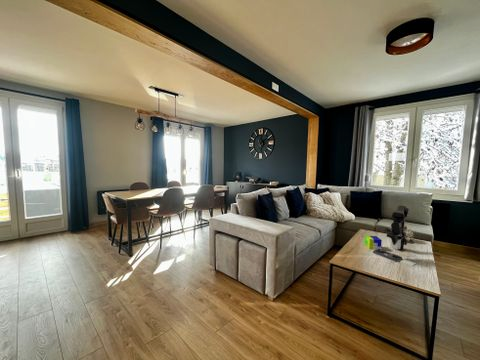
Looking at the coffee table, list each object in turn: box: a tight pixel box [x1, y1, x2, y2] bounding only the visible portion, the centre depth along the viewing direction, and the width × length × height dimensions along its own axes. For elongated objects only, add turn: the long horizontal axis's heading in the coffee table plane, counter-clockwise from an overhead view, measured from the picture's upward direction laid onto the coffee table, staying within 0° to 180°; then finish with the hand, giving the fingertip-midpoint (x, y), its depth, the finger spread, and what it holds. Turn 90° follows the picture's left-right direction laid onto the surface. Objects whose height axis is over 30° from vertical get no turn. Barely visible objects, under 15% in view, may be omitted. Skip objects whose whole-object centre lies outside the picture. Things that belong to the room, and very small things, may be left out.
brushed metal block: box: [390, 238, 401, 250], centre depth 168 cm, size 5×5×8 cm
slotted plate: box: [372, 248, 403, 263], centre depth 173 cm, size 10×18×2 cm, turn 27°
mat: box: [399, 258, 417, 267], centre depth 162 cm, size 8×8×1 cm
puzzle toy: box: [364, 234, 383, 251], centre depth 190 cm, size 10×10×10 cm
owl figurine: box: [404, 224, 415, 244], centre depth 209 cm, size 18×12×17 cm, turn 42°
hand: (395, 244), depth 168 cm, fingers closed on brushed metal block, 5 cm apart
